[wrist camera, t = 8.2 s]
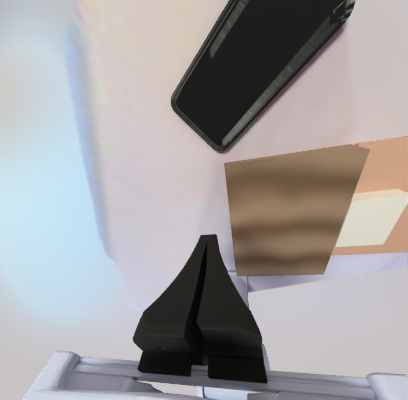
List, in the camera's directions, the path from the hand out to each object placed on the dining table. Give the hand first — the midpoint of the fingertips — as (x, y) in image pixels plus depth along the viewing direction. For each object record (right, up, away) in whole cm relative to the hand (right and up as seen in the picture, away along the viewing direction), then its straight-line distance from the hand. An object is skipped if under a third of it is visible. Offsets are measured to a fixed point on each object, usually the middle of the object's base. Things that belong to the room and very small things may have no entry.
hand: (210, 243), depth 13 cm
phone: (+3, +17, +1) cm, 17 cm away
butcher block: (+11, +1, +10) cm, 14 cm away
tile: (+21, +1, +8) cm, 22 cm away
